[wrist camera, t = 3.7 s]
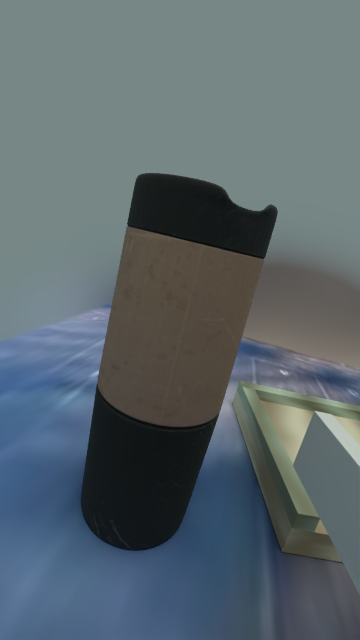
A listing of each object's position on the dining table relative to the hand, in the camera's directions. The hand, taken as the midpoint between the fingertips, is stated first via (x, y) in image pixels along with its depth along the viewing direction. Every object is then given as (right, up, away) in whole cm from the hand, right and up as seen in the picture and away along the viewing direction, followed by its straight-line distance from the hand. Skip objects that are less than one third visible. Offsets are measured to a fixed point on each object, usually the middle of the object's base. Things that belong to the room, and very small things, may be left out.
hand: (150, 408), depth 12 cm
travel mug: (-2, -9, +9) cm, 13 cm away
